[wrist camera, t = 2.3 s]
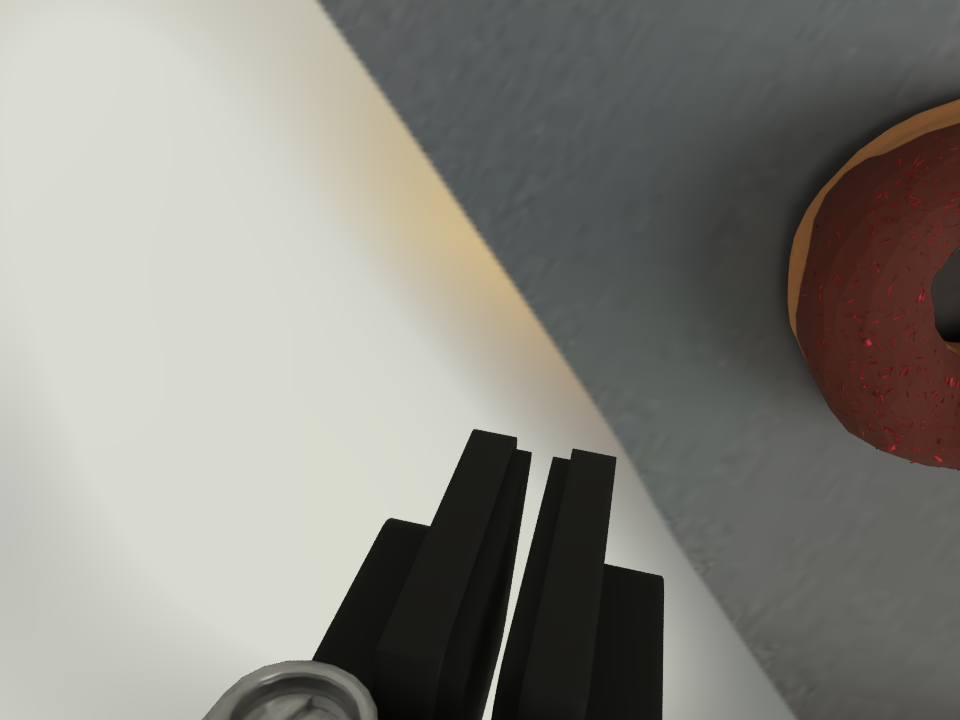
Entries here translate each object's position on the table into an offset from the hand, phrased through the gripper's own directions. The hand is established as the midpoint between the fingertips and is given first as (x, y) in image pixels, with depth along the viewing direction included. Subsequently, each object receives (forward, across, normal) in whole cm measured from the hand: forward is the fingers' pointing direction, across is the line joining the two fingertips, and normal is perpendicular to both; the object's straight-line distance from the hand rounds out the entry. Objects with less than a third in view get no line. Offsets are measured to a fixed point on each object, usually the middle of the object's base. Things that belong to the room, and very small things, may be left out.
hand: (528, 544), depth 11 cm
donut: (+17, -10, 0) cm, 20 cm away
